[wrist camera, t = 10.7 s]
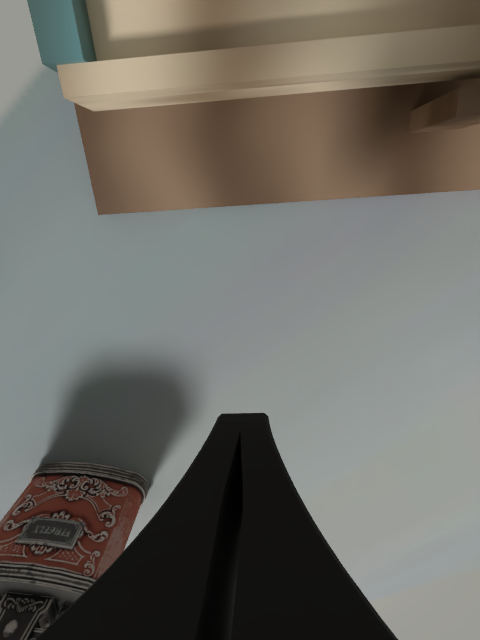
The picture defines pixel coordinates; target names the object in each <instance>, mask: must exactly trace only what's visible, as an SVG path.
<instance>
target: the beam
mask: <svg viewBox="0 0 480 640" xmlns="http://www.w3.org/2000/svg"><path fill="white" fill-rule="evenodd" d="M27 1H28V5H29V10H30V14H31V18H32V22H33V26H34V31H35V34H36V39H37V43H38V48H39V52H40V56H41V60H42V64H44V65H45V66H47V67H49V68H51V69H52V70H54V71H56V72H58V74H59V79H60V83H61V87H62V92H63V96H64V98H65V99H68V100H70V101H72V102H74V103H76V104H78V105H81V106H83V107H85V108H87V109H89V110H92V111H106V110H117V109H129V108H140V107H152V106H163V105H175V104H186V103H198V102H209V101H221V100H232V99H244V98H255V97H267V96H278V95H289V94H301V93H312V92H324V91H335V90H347V89H358V88H370V87H381V86H393V85H404V84H416V83H427V82H439V81H450V80H462V79H473V78H480V0H27Z"/></svg>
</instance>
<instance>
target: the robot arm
mask: <svg viewBox="0 0 480 640" xmlns="http://www.w3.org/2000/svg"><path fill="white" fill-rule="evenodd" d="M35 640H398V639H397V638H396V637H395V635H394V634H393V633H392V632H391V630H390V629H389V628H388V626H387V625H386V624H385V623H384V621H383V620H382V619H381V617H380V616H379V615H378V613H377V612H376V611H375V609H374V608H373V607H372V605H371V604H370V602H369V601H368V600H367V598H366V597H365V596H364V594H363V593H362V592H361V590H360V589H359V587H358V586H357V585H356V583H355V582H354V581H353V579H352V578H351V577H350V575H349V574H348V573H347V571H346V570H345V568H344V567H343V565H342V564H341V562H340V561H339V559H338V558H337V556H336V555H335V553H334V552H333V550H332V549H331V547H330V546H329V544H328V543H327V541H326V540H325V538H324V537H323V535H322V533H321V532H320V530H319V529H318V527H317V525H316V524H315V522H314V520H313V519H312V517H311V515H310V514H309V512H308V510H307V508H306V507H305V505H304V503H303V501H302V499H301V497H300V496H299V494H298V492H297V490H296V488H295V486H294V484H293V482H292V480H291V478H290V476H289V474H288V472H287V470H286V467H285V465H284V463H283V461H282V459H281V456H280V454H279V452H278V449H277V447H276V444H275V441H274V438H273V435H272V432H271V428H270V424H269V419H268V416H267V415H266V414H265V413H238V414H221V415H220V416H219V417H218V419H217V421H216V423H215V425H214V427H213V429H212V431H211V433H210V434H209V436H208V438H207V440H206V441H205V443H204V445H203V447H202V448H201V450H200V451H199V453H198V455H197V456H196V458H195V459H194V461H193V463H192V464H191V466H190V467H189V469H188V470H187V472H186V473H185V475H184V476H183V478H182V479H181V480H180V482H179V483H178V485H177V486H176V487H175V489H174V490H173V492H172V493H171V494H170V496H169V497H168V499H167V500H166V501H165V503H164V504H163V505H162V506H161V508H160V509H159V510H158V512H157V513H156V514H155V515H154V517H153V518H152V519H151V520H150V522H149V523H148V524H147V525H146V526H145V527H144V529H143V530H142V531H141V532H140V533H139V535H138V536H137V537H136V538H135V539H134V540H133V542H132V543H131V544H130V545H129V546H128V547H127V548H126V549H125V550H124V551H123V552H122V554H121V555H120V556H119V557H118V558H117V559H116V560H115V561H114V562H113V563H112V565H111V566H110V567H109V568H108V569H107V570H106V571H105V572H104V573H103V574H102V575H101V576H100V577H99V578H98V579H97V580H96V581H95V582H94V583H93V584H92V585H91V586H90V587H89V588H88V589H87V590H86V591H85V592H84V593H83V594H82V595H81V596H80V597H79V598H78V599H77V600H76V601H75V602H74V603H73V604H72V605H71V606H69V607H68V608H67V609H66V610H65V611H64V612H63V613H62V614H61V615H60V616H59V617H58V618H57V619H56V620H55V621H54V622H53V623H52V624H51V625H50V626H49V627H48V628H47V629H46V630H44V631H43V632H42V633H41V634H40V635H39V636H38V637H37V638H36V639H35Z"/></svg>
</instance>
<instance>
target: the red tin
mask: <svg viewBox="0 0 480 640" xmlns="http://www.w3.org/2000/svg"><path fill="white" fill-rule="evenodd" d="M148 489H149V485H148V482H147V480H146V479H145V478H144V477H143V476H142V475H141V474H139V473H136V472H133V471H129V470H125V469H121V468H117V467H113V466H106V465H100V464H94V463H83V462H48V463H43V464H42V465H41V466H39V468H38V469H37V470H36V472H35V473H34V474H33V475H32V477H31V479H30V484H29V485H28V486H27V488H26V489H25V490H24V492H23V493H22V494H21V496H20V497H19V498H18V499H17V501H16V502H15V503H14V505H13V506H12V507H11V509H10V510H9V511H8V512H7V514H6V515H5V516H4V518H3V519H2V520H1V522H0V640H35V639H36V638H37V637H38V636H39V635H40V634H41V633H42V632H43V631H44V630H46V629H47V628H48V627H49V626H50V625H51V624H52V623H53V622H54V621H55V620H56V619H57V618H58V617H59V616H60V615H61V614H62V613H63V612H64V611H65V610H66V609H67V608H68V607H69V606H71V605H72V604H73V603H74V602H75V601H76V600H77V599H78V598H79V597H80V596H81V595H82V594H83V593H84V592H85V591H86V590H87V589H88V588H89V587H90V586H91V585H92V584H93V583H94V582H95V581H96V580H97V579H98V578H99V577H100V576H101V575H102V574H103V573H104V572H105V571H106V570H107V569H108V568H109V567H110V566H111V565H112V563H113V562H114V561H115V560H116V559H117V558H118V557H119V556H120V555H121V554H122V552H123V551H124V548H125V545H126V543H127V540H128V537H129V535H130V532H131V529H132V527H133V524H134V521H135V518H136V516H137V513H138V510H139V508H140V507H141V506H142V505H143V503H144V501H145V499H146V496H147V493H148Z"/></svg>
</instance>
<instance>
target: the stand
mask: <svg viewBox="0 0 480 640" xmlns="http://www.w3.org/2000/svg"><path fill="white" fill-rule="evenodd" d="M74 105H75V109H76V114H77V118H78V123H79V128H80V132H81V137H82V142H83V146H84V151H85V155H86V160H87V165H88V169H89V174H90V178H91V183H92V188H93V192H94V197H95V201H96V206H97V211H98V215H103V214H118V213H133V212H148V211H163V210H178V209H193V208H208V207H223V206H238V205H253V204H268V203H283V202H298V201H313V200H328V199H343V198H358V197H373V196H388V195H403V194H418V193H433V192H448V191H463V190H478V189H480V78H473V79H462V80H450V81H439V82H427V83H416V84H404V85H393V86H381V87H370V88H358V89H347V90H335V91H324V92H312V93H301V94H289V95H278V96H267V97H255V98H244V99H232V100H221V101H209V102H198V103H186V104H175V105H163V106H152V107H140V108H129V109H117V110H106V111H92V110H89V109H87V108H85V107H83V106H81V105H78V104H76V103H74Z"/></svg>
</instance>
